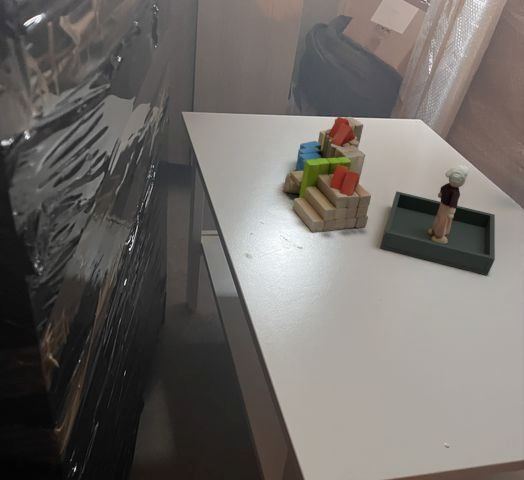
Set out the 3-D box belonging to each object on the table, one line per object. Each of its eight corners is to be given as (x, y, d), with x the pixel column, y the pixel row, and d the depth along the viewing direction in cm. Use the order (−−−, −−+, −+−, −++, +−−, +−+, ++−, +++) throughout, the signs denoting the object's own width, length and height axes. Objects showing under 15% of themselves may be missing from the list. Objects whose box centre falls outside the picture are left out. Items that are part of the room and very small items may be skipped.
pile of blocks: (285, 142, 123) (292, 88, 116) (353, 151, 124) (365, 97, 116) (281, 228, 97) (290, 165, 89) (367, 239, 97) (384, 177, 90)
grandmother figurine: (456, 247, 97) (484, 176, 89) (436, 247, 96) (461, 176, 88) (437, 223, 103) (461, 154, 94) (417, 223, 102) (440, 154, 93)
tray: (488, 229, 104) (494, 214, 102) (487, 275, 93) (494, 259, 91) (392, 206, 107) (396, 191, 105) (379, 248, 96) (384, 231, 94)
